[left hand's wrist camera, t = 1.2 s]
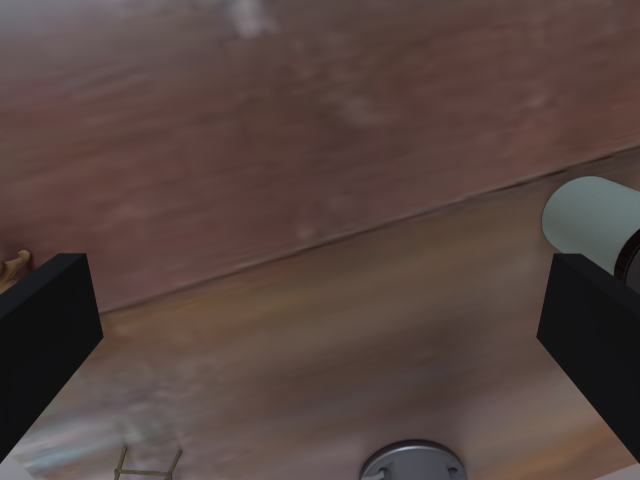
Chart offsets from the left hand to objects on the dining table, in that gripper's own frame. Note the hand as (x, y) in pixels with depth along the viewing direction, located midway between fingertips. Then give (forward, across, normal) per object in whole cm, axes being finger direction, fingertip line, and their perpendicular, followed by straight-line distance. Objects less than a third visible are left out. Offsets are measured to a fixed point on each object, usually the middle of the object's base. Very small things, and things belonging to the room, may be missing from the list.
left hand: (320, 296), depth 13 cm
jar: (+36, -29, +9) cm, 47 cm away
